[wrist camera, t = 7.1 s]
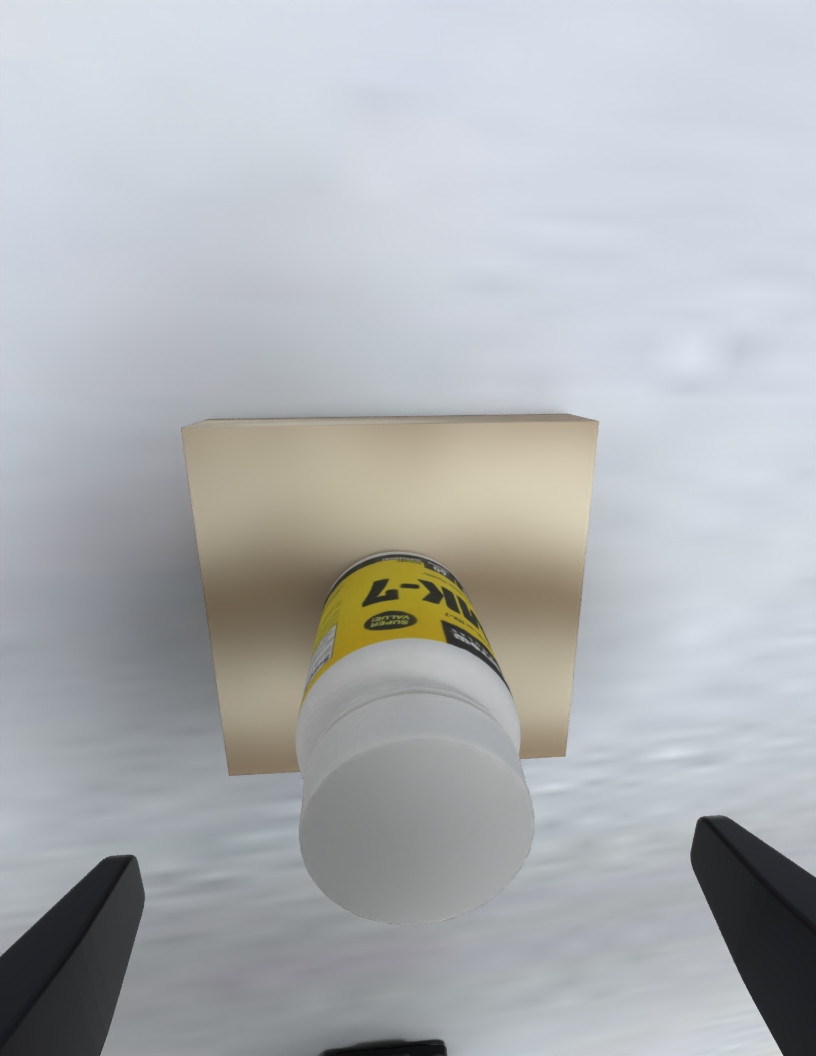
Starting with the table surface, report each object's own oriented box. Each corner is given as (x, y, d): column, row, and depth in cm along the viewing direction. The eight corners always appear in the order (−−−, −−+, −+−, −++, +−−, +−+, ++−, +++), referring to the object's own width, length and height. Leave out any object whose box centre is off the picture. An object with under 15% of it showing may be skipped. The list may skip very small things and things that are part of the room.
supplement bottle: (493, 576, 16) (611, 764, 8) (437, 697, 18) (493, 969, 10) (350, 525, 16) (330, 681, 8) (301, 656, 17) (237, 914, 9)
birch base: (543, 712, 21) (565, 756, 19) (245, 728, 20) (229, 775, 18) (568, 413, 18) (598, 421, 15) (207, 419, 17) (181, 427, 14)
